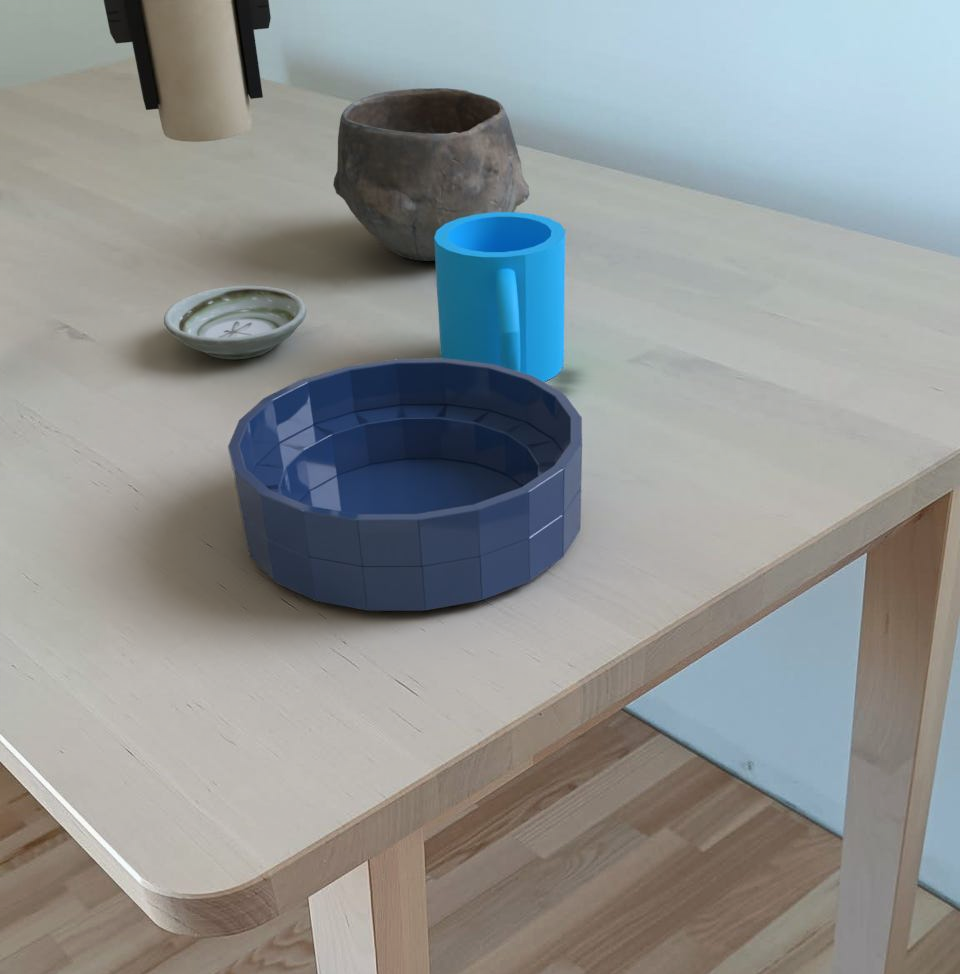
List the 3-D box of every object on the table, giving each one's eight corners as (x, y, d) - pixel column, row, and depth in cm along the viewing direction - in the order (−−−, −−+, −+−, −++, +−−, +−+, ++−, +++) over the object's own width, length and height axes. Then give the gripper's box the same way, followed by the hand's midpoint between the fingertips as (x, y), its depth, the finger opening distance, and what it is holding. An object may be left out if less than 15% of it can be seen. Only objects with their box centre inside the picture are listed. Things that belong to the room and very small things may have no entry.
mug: (439, 342, 87) (432, 215, 82) (557, 335, 88) (558, 208, 82) (446, 420, 79) (438, 284, 73) (577, 412, 79) (579, 276, 73)
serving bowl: (228, 476, 75) (211, 385, 71) (525, 429, 78) (524, 339, 74) (273, 647, 62) (255, 546, 58) (627, 583, 65) (632, 484, 61)
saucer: (287, 377, 84) (281, 341, 82) (149, 371, 86) (141, 335, 84) (326, 320, 91) (321, 285, 89) (198, 315, 92) (191, 281, 91)
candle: (236, 143, 76) (205, -60, 69) (149, 142, 77) (110, -59, 70) (264, 117, 80) (237, -78, 73) (181, 117, 81) (146, -77, 74)
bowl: (384, 296, 94) (371, 146, 87) (316, 234, 104) (300, 95, 97) (553, 262, 98) (554, 116, 91) (472, 205, 108) (467, 70, 101)
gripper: (-94, -446, 57) (47, 131, 73) (315, -461, 60) (364, 97, 76) (-84, -438, 62) (45, 99, 78) (291, -452, 65) (342, 68, 81)
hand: (202, 97), depth 77 cm, fingers closed on candle, 5 cm apart
